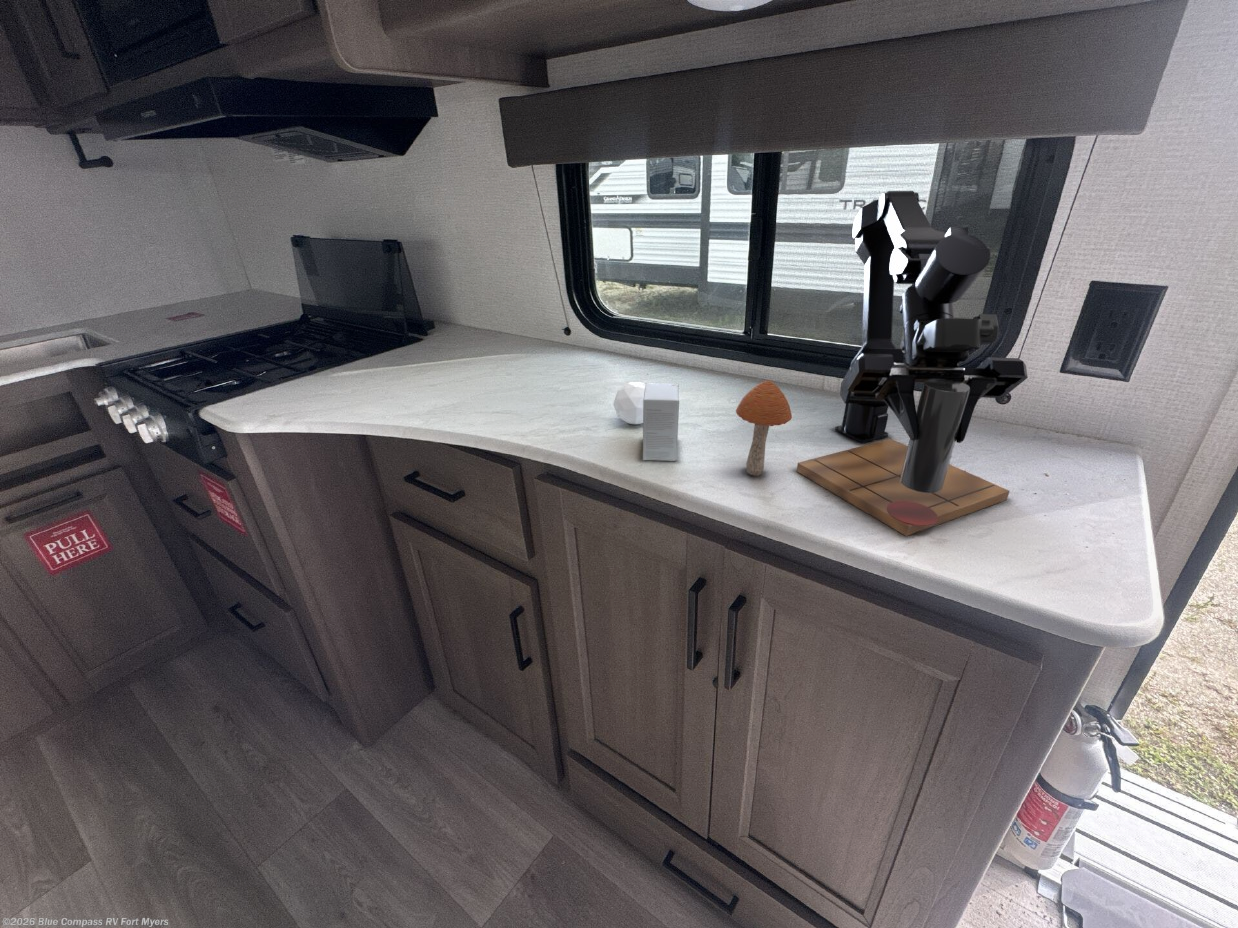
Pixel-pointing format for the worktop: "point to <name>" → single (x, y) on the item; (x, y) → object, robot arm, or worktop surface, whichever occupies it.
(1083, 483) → the worktop surface
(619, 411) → the geometric ball
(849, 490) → the board
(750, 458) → the mushroom
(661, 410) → the small box
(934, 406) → the black cylinder
